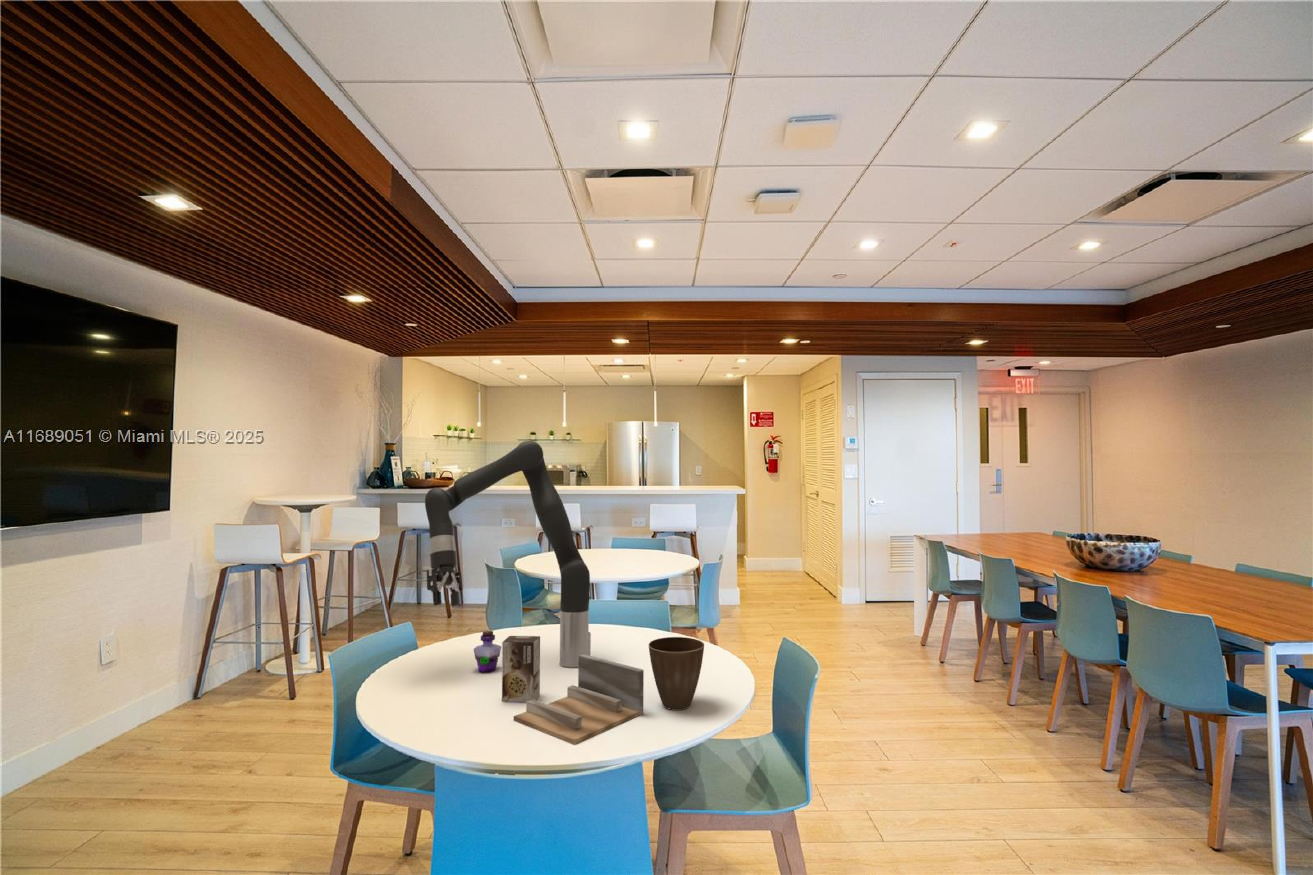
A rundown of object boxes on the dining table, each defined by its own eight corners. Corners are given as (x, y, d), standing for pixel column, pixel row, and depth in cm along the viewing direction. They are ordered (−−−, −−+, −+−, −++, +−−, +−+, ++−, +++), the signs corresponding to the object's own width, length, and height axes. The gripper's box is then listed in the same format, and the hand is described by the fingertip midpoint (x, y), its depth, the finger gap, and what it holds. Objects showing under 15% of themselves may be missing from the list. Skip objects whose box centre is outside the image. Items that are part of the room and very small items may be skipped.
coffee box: (540, 694, 171) (541, 635, 172) (533, 703, 164) (534, 641, 166) (508, 693, 172) (509, 634, 173) (500, 701, 165) (501, 640, 166)
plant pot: (687, 720, 153) (687, 654, 154) (637, 708, 161) (637, 646, 162) (714, 702, 166) (713, 641, 167) (666, 692, 173) (666, 634, 174)
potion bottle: (474, 675, 187) (475, 635, 188) (471, 667, 195) (472, 629, 196) (503, 672, 190) (503, 633, 191) (499, 664, 198) (500, 626, 199)
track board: (583, 694, 171) (583, 654, 172) (643, 713, 157) (643, 669, 158) (513, 720, 153) (514, 675, 153) (574, 744, 139) (575, 694, 139)
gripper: (438, 546, 182) (442, 602, 177) (466, 551, 195) (471, 603, 190) (417, 552, 184) (420, 607, 178) (446, 556, 197) (450, 608, 191)
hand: (446, 605), depth 184 cm, fingers open, 8 cm apart
